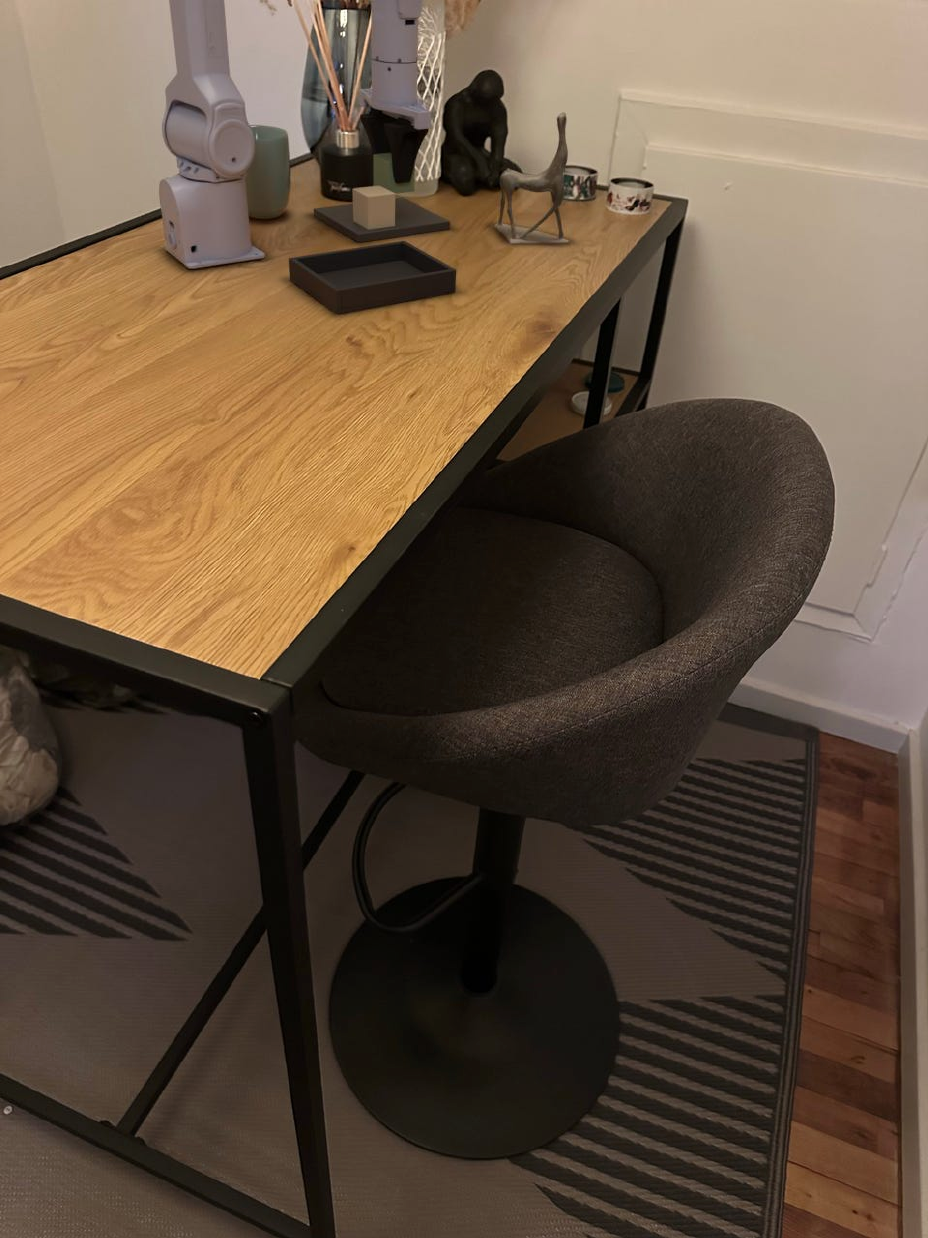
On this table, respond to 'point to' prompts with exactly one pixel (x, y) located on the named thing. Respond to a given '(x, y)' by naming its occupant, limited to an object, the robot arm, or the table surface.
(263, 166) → the cup
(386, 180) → the sage block
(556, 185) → the figurine
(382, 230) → the board
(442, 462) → the table surface
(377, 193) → the cream block
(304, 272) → the tray
